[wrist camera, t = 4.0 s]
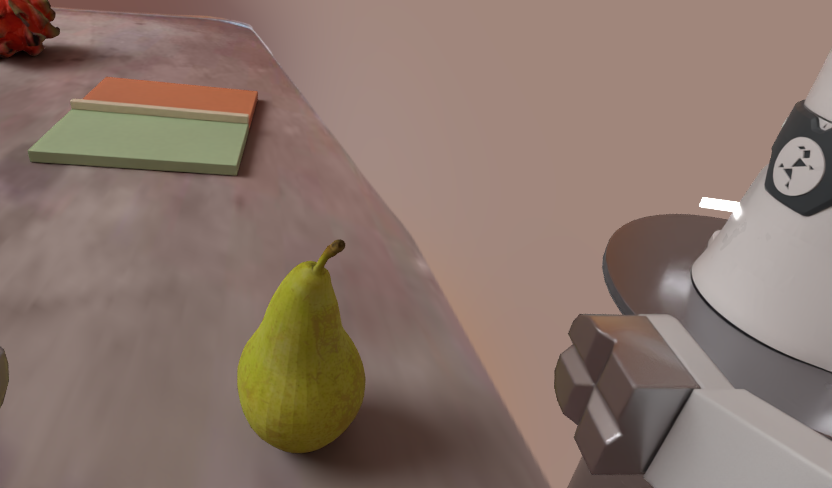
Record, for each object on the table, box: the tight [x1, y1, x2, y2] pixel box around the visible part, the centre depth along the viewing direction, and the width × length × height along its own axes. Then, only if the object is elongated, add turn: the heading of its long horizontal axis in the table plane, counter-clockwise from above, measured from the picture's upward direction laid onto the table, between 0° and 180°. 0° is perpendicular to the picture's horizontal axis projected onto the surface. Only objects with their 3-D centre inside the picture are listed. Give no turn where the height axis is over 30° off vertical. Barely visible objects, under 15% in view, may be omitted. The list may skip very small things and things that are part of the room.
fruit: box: [237, 239, 365, 453], centre depth 24 cm, size 6×6×12 cm
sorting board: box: [28, 77, 258, 175], centre depth 54 cm, size 16×20×2 cm
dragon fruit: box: [0, 0, 60, 58], centre depth 64 cm, size 8×8×12 cm
